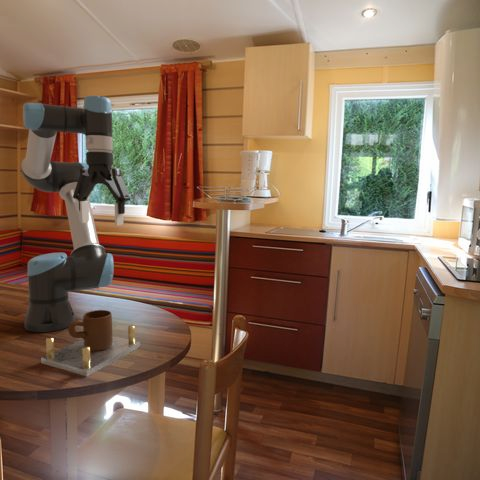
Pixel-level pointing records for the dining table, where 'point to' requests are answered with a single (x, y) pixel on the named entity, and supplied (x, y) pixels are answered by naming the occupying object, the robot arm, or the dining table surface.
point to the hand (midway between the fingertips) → (101, 223)
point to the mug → (94, 329)
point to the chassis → (88, 354)
